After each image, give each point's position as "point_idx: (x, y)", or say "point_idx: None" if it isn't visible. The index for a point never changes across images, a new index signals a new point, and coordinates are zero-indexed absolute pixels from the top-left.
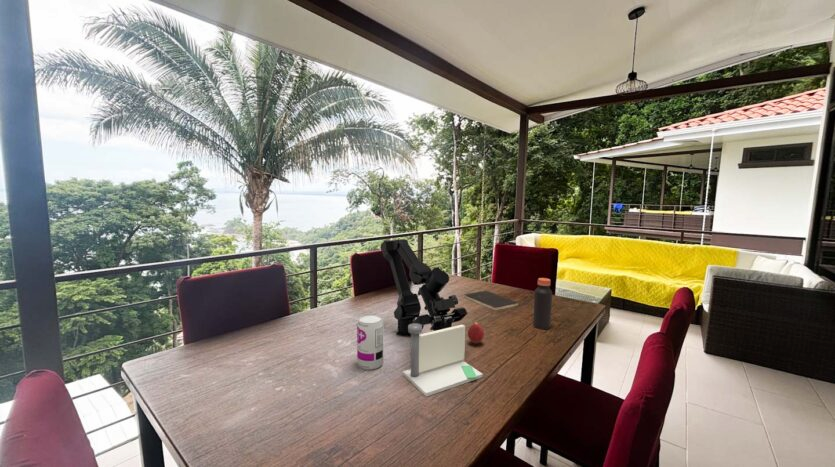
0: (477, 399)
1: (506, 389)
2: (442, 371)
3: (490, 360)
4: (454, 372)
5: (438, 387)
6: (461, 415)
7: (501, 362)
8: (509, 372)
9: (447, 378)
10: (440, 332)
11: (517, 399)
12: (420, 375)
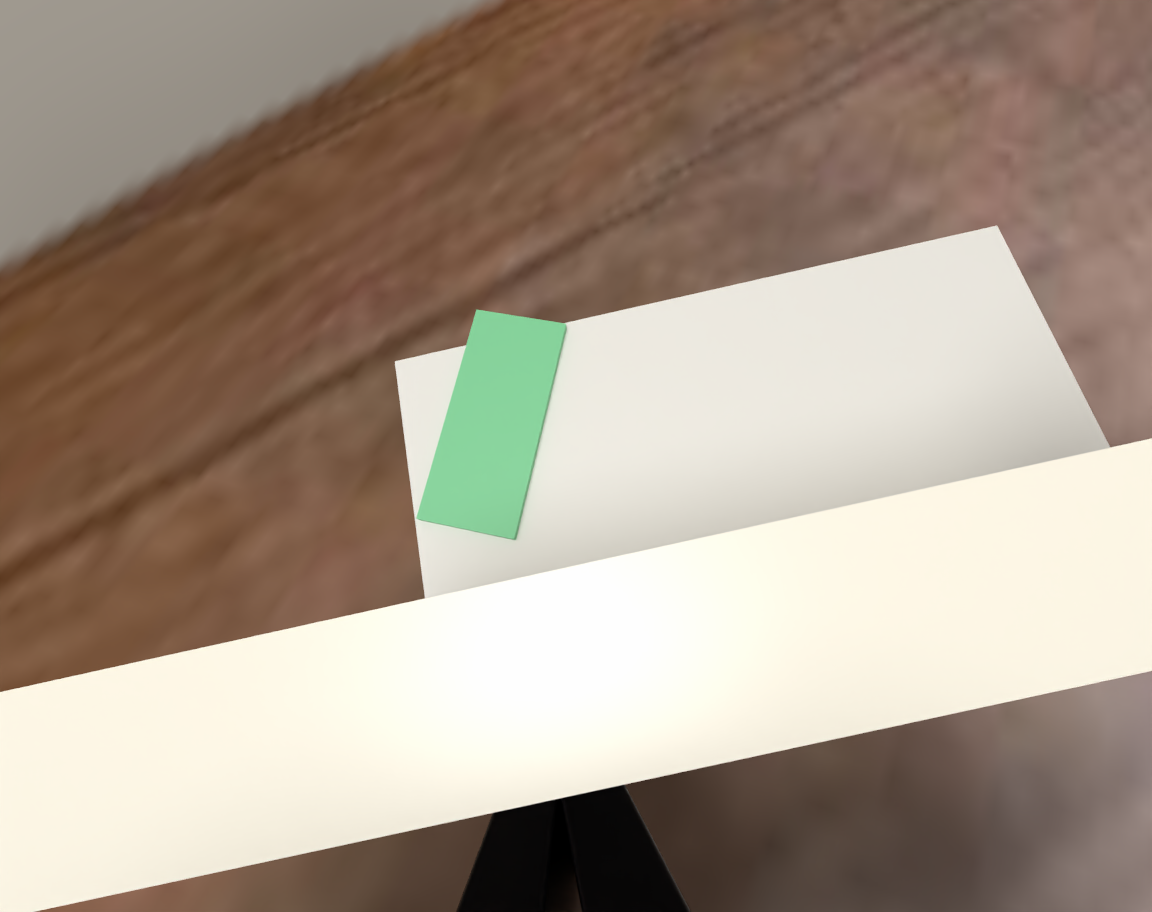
0: (602, 142)
1: (343, 192)
2: (747, 506)
3: (144, 627)
4: (634, 454)
5: (867, 273)
6: (778, 37)
7: (80, 555)
8: (152, 379)
9: (741, 375)
10: (1135, 445)
11: (354, 92)
12: None
